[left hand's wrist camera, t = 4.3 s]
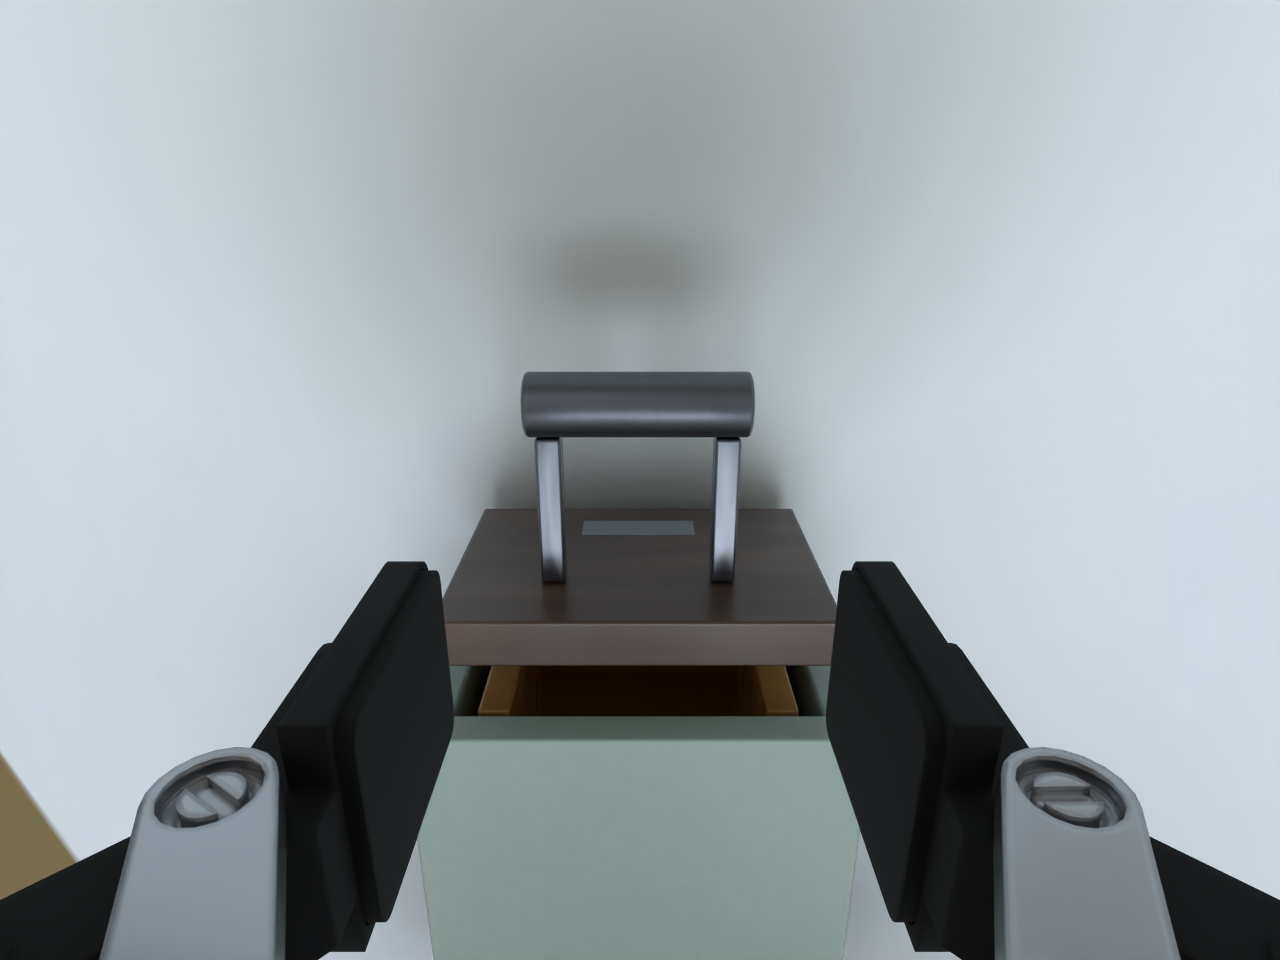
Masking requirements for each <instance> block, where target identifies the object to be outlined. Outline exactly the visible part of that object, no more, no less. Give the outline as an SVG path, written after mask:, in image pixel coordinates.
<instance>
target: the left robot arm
mask: <svg viewBox="0 0 1280 960" xmlns="http://www.w3.org/2000/svg"><path fill="white" fill-rule="evenodd" d="M453 727H454V706H453V696H452V687H451V677H450V668H449V658H448V648H447V639H446V629H445V620H444V610H443V601H442V591H441V582H440V576H439V573H438V571H428V568H427V565H426V563H425V562H387V563H386V564H385V565H384V566H383V568H382V569H381V571H380V572H379V574H378V575H377V577H376V578H375V580H374V581H373V583H372V584H371V586H370V587H369V589H368V590H367V592H366V593H365V595H364V596H363V598H362V599H361V601H360V602H359V604H358V605H357V607H356V608H355V610H354V611H353V613H352V614H351V616H350V617H349V619H348V620H347V622H346V623H345V625H344V626H343V628H342V629H341V631H340V632H339V634H338V635H337V637H336V638H335V640H334V641H333V642H332V643H327V644H324V645H323V646H322V647H321V648H320V649H319V650H318V651H317V653H316V654H315V656H314V657H313V658H312V660H311V661H310V663H309V664H308V666H307V667H306V669H305V670H304V671H303V673H302V674H301V676H300V677H299V679H298V680H297V682H296V683H295V685H294V686H293V687H292V689H291V690H290V692H289V693H288V695H287V696H286V698H285V699H284V700H283V702H282V703H281V705H280V706H279V708H278V709H277V711H276V712H275V713H274V715H273V716H272V718H271V719H270V721H269V722H268V724H267V725H266V727H265V728H264V729H263V731H262V732H261V734H260V735H259V737H258V738H257V740H256V741H255V742H254V744H253V745H252V747H251V748H242V747H234V748H227V749H220V750H215V751H212V752H209V753H206V754H203V755H199V756H196V757H194V758H192V759H190V760H188V761H186V762H184V763H182V764H180V765H178V766H176V767H174V768H173V769H172V770H170V771H169V772H168V773H166V774H165V775H163V776H162V777H161V778H159V779H158V780H157V781H156V782H155V783H154V784H153V785H152V787H151V788H150V789H149V790H148V791H147V792H146V793H145V795H144V797H143V799H142V801H141V803H140V805H139V807H138V810H137V814H136V818H135V822H134V826H133V830H132V834H131V836H130V837H128V838H126V839H124V840H122V841H120V842H118V843H116V844H114V845H112V846H110V847H108V848H106V849H104V850H102V851H100V852H98V853H96V854H94V855H91V856H89V857H87V858H85V859H83V860H81V861H79V862H77V863H75V864H73V865H71V866H69V867H67V868H65V869H63V870H61V871H59V872H57V873H55V874H53V875H51V876H49V877H46V878H44V879H42V880H40V881H38V882H36V883H34V884H32V885H30V886H28V887H26V888H24V889H22V890H20V891H18V892H16V893H14V894H12V895H10V896H8V897H6V898H4V899H2V900H0V960H318V959H320V958H321V957H323V956H324V955H326V954H327V953H329V952H365V951H366V948H367V945H368V942H369V939H370V937H371V934H372V931H373V928H374V925H375V923H376V922H386V921H387V920H388V919H389V918H390V915H391V913H392V910H393V907H394V904H395V901H396V898H397V895H398V893H399V890H400V887H401V884H402V881H403V878H404V875H405V872H406V869H407V866H408V863H409V860H410V857H411V854H412V851H413V849H414V846H415V843H416V840H417V837H418V834H419V831H420V828H421V825H422V822H423V819H424V816H425V813H426V810H427V807H428V804H429V802H430V799H431V796H432V793H433V790H434V787H435V784H436V781H437V778H438V775H439V772H440V769H441V766H442V763H443V760H444V758H445V755H446V752H447V749H448V746H449V743H450V740H451V737H452V733H453ZM826 727H827V733H828V737H829V740H830V743H831V746H832V749H833V752H834V755H835V758H836V761H837V763H838V766H839V769H840V772H841V775H842V778H843V781H844V784H845V787H846V790H847V793H848V796H849V799H850V802H851V805H852V807H853V810H854V813H855V816H856V819H857V822H858V825H859V828H860V831H861V834H862V837H863V840H864V843H865V846H866V849H867V851H868V854H869V857H870V860H871V863H872V866H873V869H874V872H875V875H876V878H877V881H878V884H879V887H880V890H881V893H882V895H883V898H884V901H885V904H886V907H887V910H888V913H889V915H890V918H891V919H892V921H894V922H904V923H905V925H906V928H907V931H908V934H909V937H910V939H911V942H912V945H913V948H914V951H915V952H951V953H953V954H954V955H956V956H957V957H959V958H960V959H962V960H1280V900H1279V899H1276V898H1274V897H1272V896H1270V895H1268V894H1266V893H1264V892H1262V891H1260V890H1258V889H1256V888H1254V887H1252V886H1250V885H1248V884H1246V883H1244V882H1242V881H1240V880H1238V879H1236V878H1234V877H1231V876H1229V875H1227V874H1225V873H1223V872H1221V871H1219V870H1217V869H1215V868H1213V867H1211V866H1209V865H1207V864H1205V863H1203V862H1201V861H1199V860H1197V859H1195V858H1193V857H1191V856H1188V855H1186V854H1184V853H1182V852H1180V851H1178V850H1176V849H1174V848H1172V847H1170V846H1168V845H1166V844H1164V843H1162V842H1160V841H1158V840H1156V839H1154V838H1152V837H1150V836H1149V834H1148V830H1147V826H1146V822H1145V818H1144V814H1143V810H1142V807H1141V805H1140V803H1139V801H1138V799H1137V797H1136V795H1135V793H1134V792H1133V791H1132V790H1131V789H1130V788H1129V787H1128V785H1127V784H1126V783H1125V782H1124V781H1123V780H1122V779H1121V778H1119V777H1118V776H1117V775H1115V774H1114V773H1112V772H1111V771H1110V770H1108V769H1107V768H1106V767H1104V766H1102V765H1100V764H1098V763H1096V762H1094V761H1092V760H1090V759H1088V758H1086V757H1084V756H1081V755H1077V754H1074V753H1071V752H1068V751H1065V750H1060V749H1053V748H1046V747H1038V748H1029V747H1028V745H1027V744H1026V742H1025V741H1024V740H1023V738H1022V737H1021V735H1020V734H1019V732H1018V731H1017V729H1016V728H1015V727H1014V725H1013V724H1012V722H1011V721H1010V719H1009V718H1008V716H1007V715H1006V714H1005V712H1004V711H1003V709H1002V708H1001V706H1000V705H999V703H998V702H997V700H996V699H995V698H994V696H993V695H992V693H991V692H990V690H989V689H988V687H987V686H986V685H985V683H984V682H983V680H982V679H981V677H980V676H979V674H978V673H977V671H976V670H975V669H974V667H973V666H972V664H971V663H970V661H969V660H968V658H967V657H966V656H965V654H964V653H963V651H962V650H961V649H960V648H959V647H958V646H957V645H956V644H953V643H947V641H946V640H945V638H944V637H943V635H942V634H941V632H940V631H939V629H938V628H937V626H936V625H935V623H934V622H933V620H932V619H931V617H930V616H929V614H928V613H927V611H926V610H925V608H924V607H923V605H922V604H921V602H920V601H919V599H918V598H917V596H916V595H915V593H914V592H913V590H912V589H911V587H910V586H909V584H908V583H907V581H906V580H905V578H904V577H903V575H902V574H901V572H900V571H899V569H898V568H897V566H896V565H895V564H894V563H893V562H855V563H854V565H853V568H852V571H842V573H841V576H840V581H839V591H838V601H837V610H836V620H835V629H834V639H833V648H832V658H831V667H830V677H829V687H828V696H827V706H826Z"/></svg>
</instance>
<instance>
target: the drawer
mask: <svg viewBox="0 0 1280 960" xmlns="http://www.w3.org/2000/svg"><path fill="white" fill-rule="evenodd" d="M754 413H755V392H754V382H753V378H752V375H751V373H749V372H527V373H525V374H524V377H523V380H522V387H521V418H522V426H523V430H524V433H525V435H526V436H527V437H536V439H535V442H534V443H535V462H536V482H537V501H538V509H486V510H485V511H484V513H483V515H482V517H481V519H480V521H479V523H478V525H477V528H476V530H475V532H474V534H473V536H472V538H471V540H470V542H469V544H468V546H467V548H466V551H465V553H464V555H463V557H462V559H461V561H460V563H459V565H458V567H457V569H456V571H455V574H454V576H453V578H452V580H451V582H450V584H449V586H448V588H447V590H446V592H445V594H444V597H443V599H442V601H443V610H444V620H445V629H446V639H447V648H448V658H449V666H491V669H490V673H489V676H488V679H487V682H486V686H485V689H484V692H483V695H482V698H481V702H480V705H479V708H478V711H477V712H478V716H799V710H798V707H797V703H796V700H795V697H794V693H793V690H792V687H791V683H790V680H789V677H788V673H787V670H786V667H785V666H831V658H832V648H833V639H834V629H835V620H836V610H837V605H836V603H835V601H834V598H833V596H832V594H831V592H830V590H829V588H828V586H827V583H826V581H825V579H824V577H823V575H822V573H821V571H820V568H819V566H818V564H817V562H816V560H815V558H814V556H813V554H812V551H811V549H810V547H809V545H808V543H807V541H806V539H805V536H804V534H803V532H802V530H801V528H800V526H799V524H798V521H797V519H796V517H795V515H794V513H793V511H792V510H791V509H738V501H739V480H740V460H741V439H740V437H748V436H750V435H751V432H752V429H753V423H754ZM562 437H714V444H713V472H712V501H711V509H565V498H564V472H563V445H562Z"/></svg>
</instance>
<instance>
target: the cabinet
mask: <svg viewBox="0 0 1280 960" xmlns="http://www.w3.org/2000/svg"><path fill="white" fill-rule="evenodd" d="M785 667H786V670H787V673H788V677H789V680H790V683H791V687H792V690H793V693H794V697H795V700H796V703H797V707H798V710H799V716H478V712H477V711H478V708H479V705H480V702H481V698H482V695H483V692H484V689H485V686H486V682H487V679H488V676H489V673H490V669H491V666H449V668H450V677H451V687H452V696H453V706H454V727H453V733H452V737H451V740H450V743H449V746H448V749H447V752H446V755H445V758H444V760H443V763H442V766H441V769H440V772H439V775H438V778H437V781H436V784H435V787H434V790H433V793H432V796H431V799H430V802H429V804H428V807H427V810H426V813H425V816H424V819H423V822H422V825H421V828H420V831H419V834H418V837H417V838H418V845H419V853H420V860H421V867H422V875H423V882H424V890H425V897H426V905H427V912H428V919H429V927H430V934H431V942H432V949H433V957H434V960H843V954H844V946H845V938H846V931H847V923H848V916H849V908H850V900H851V893H852V885H853V878H854V870H855V862H856V855H857V847H858V839H859V832H860V828H859V825H858V822H857V819H856V816H855V813H854V810H853V807H852V805H851V802H850V799H849V796H848V793H847V790H846V787H845V784H844V781H843V778H842V775H841V772H840V769H839V766H838V763H837V761H836V758H835V755H834V752H833V749H832V746H831V743H830V740H829V737H828V733H827V727H826V706H827V696H828V687H829V677H830V667H831V666H785Z"/></svg>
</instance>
